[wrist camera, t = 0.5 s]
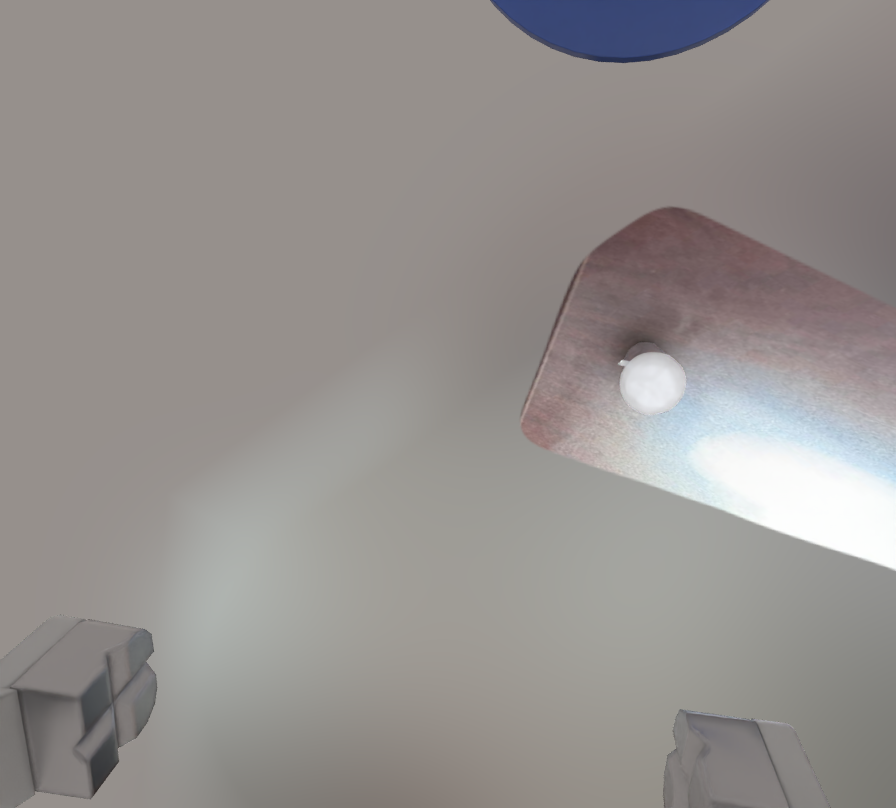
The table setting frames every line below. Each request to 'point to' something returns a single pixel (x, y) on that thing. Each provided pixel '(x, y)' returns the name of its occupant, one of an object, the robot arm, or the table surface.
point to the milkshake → (651, 379)
